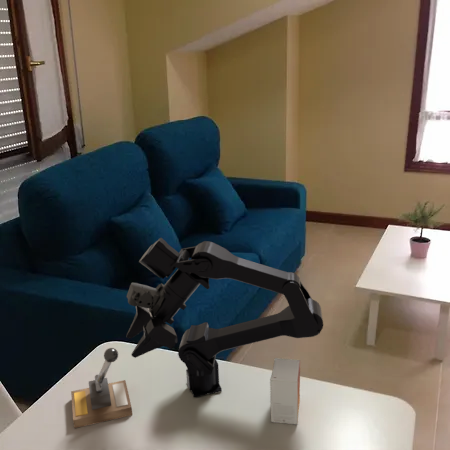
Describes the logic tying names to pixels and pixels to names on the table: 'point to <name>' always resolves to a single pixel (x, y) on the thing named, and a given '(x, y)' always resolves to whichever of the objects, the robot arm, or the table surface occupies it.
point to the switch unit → (100, 403)
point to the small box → (285, 391)
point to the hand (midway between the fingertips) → (130, 346)
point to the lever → (105, 367)
